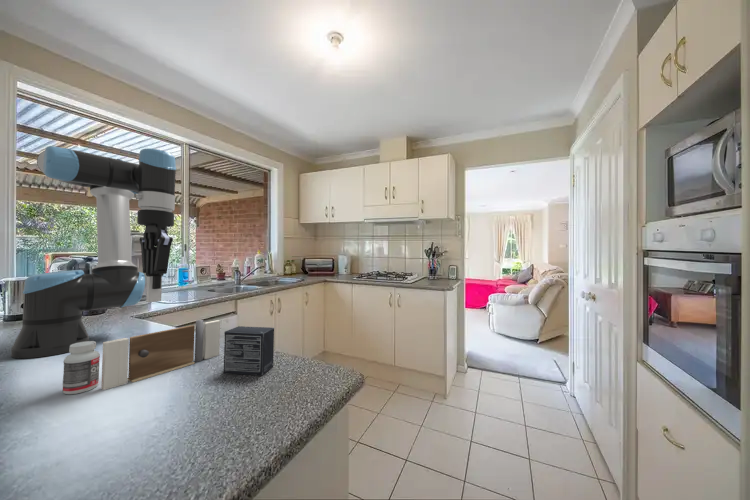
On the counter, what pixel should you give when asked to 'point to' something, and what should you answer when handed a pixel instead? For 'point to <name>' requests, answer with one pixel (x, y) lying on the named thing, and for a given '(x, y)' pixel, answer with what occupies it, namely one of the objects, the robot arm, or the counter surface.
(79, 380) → the pill bottle
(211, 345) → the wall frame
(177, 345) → the door
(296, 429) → the counter surface
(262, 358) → the small box
